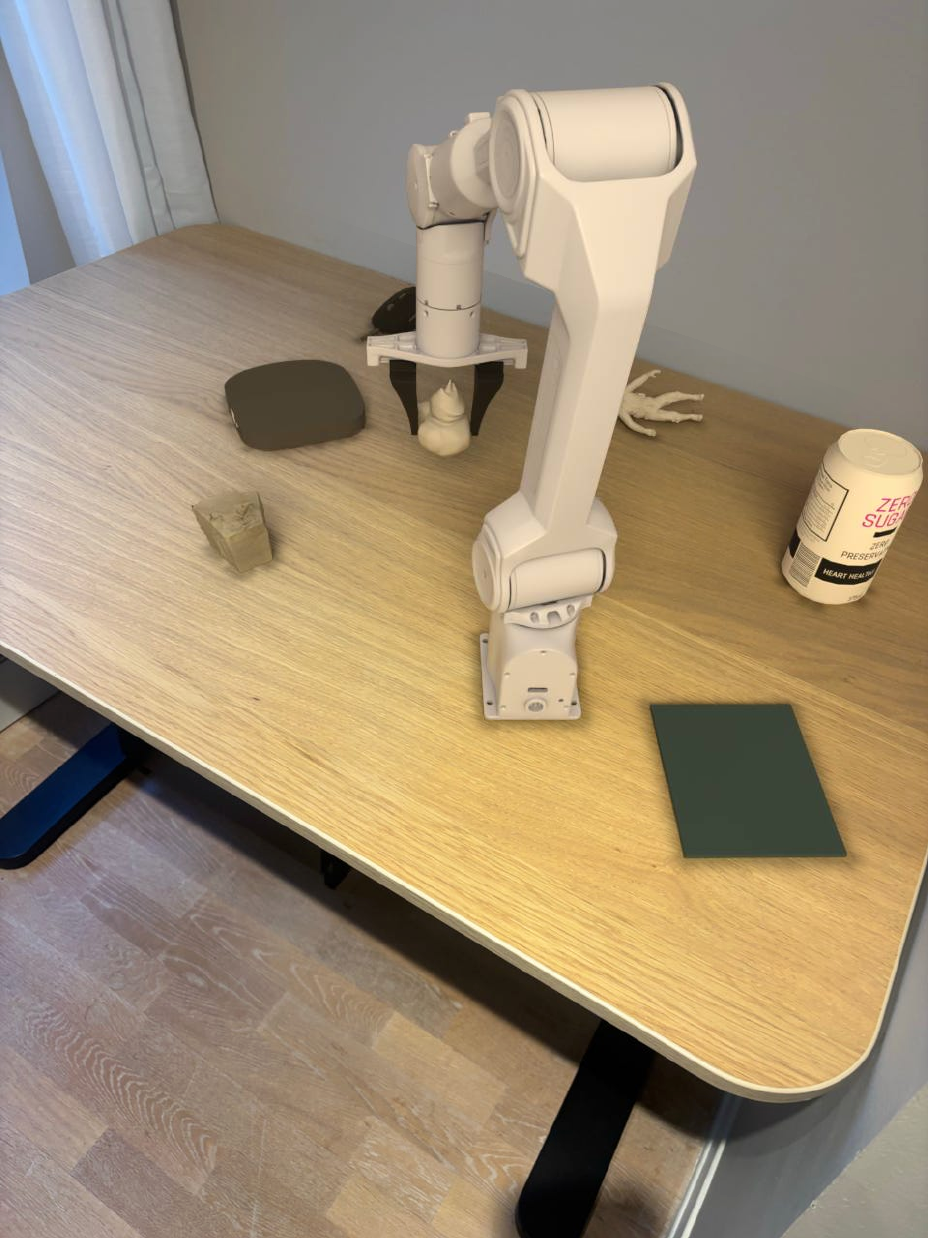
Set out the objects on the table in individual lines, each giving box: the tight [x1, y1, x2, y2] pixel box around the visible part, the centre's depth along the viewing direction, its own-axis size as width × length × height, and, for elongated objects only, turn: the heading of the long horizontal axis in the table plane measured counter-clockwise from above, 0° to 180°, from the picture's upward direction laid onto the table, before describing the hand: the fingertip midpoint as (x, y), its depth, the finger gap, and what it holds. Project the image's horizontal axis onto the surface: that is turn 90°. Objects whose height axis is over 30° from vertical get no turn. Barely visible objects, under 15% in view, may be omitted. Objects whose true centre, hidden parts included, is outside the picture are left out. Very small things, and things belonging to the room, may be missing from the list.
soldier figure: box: [617, 369, 705, 437], centre depth 103 cm, size 8×5×12 cm
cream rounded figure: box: [417, 378, 471, 457], centre depth 84 cm, size 5×7×8 cm
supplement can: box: [780, 428, 924, 605], centre depth 80 cm, size 8×8×15 cm
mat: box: [649, 704, 848, 859], centre depth 68 cm, size 14×12×1 cm
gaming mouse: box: [360, 285, 416, 341], centre depth 118 cm, size 6×15×4 cm, turn 136°
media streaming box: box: [223, 359, 366, 451], centre depth 101 cm, size 15×15×3 cm
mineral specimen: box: [190, 489, 273, 574], centre depth 81 cm, size 7×9×8 cm
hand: (444, 430), depth 85 cm, fingers closed on cream rounded figure, 5 cm apart
